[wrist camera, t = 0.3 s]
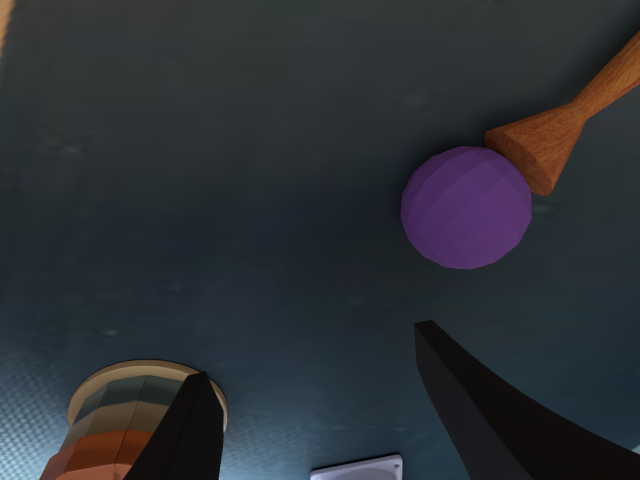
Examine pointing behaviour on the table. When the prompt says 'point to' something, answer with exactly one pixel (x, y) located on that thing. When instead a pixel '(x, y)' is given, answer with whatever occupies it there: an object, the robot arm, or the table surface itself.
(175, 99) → the table surface
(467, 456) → the robot arm
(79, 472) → the top ring
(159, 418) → the ring stand
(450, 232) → the purple maraca
